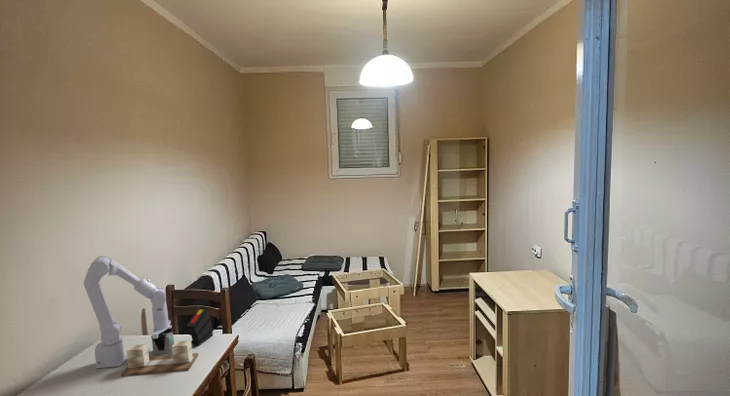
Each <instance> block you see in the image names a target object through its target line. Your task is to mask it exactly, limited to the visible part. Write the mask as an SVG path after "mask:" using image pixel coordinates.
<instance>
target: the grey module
mask: <svg viewBox="0 0 730 396" xmlns="http://www.w3.org/2000/svg"><path fill="white" fill-rule="evenodd" d="M163 334H167V335H166V337H165V347H164V350H161V351H159V350H158V348H157V346H156V344H155V342H154V341H153V340H152V339H151V343H152V344H151V345H152V353H153V355H159V354H170V353H171V354H172V346H173V344H174V343H175V342H174V341H175V340H174V339H175V338H174V332H172V331H171V333H162V335H163Z"/></svg>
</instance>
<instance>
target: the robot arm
mask: <svg viewBox="0 0 730 396" xmlns="http://www.w3.org/2000/svg"><path fill="white" fill-rule="evenodd" d="M105 275H106V276H107V275H108V276H118V277H119V278H121V279H123V280H124V281H126V282H128V283H129V284H131V285H133V289H134V291H136V292H137V293H138V294H140V295H142V296H143V297H145V298H146V299H149V300H150V303H151V305H152V307H151V310H152V311H151V312H152V321H153V330H152V334H151V336H150V338H151V341H152V340H153V341H154V342H155V344H156V346H157V348H158V350H159V351H161V350H164V347H165V337H166V335H167V334H163V335H162V333H172V330H173V326H172V325H171V319H170V320H169V313H168V306H167V305H168V304H167V296H166V295H167V294H166V291H165V290H164V289H163V288H162V287H160V286H159V285H156V284H154V283H152V282H151V279H149V278H147V279H146V278H145V277H143V278H139V277H138V276H136V275H135V273H134V274H133V273H132V271H130V270H128V269H127V268H126V267H124V266H123V265H121V264H120V263H119V262H117V261H116V260H114V259H111V258H110V257H108V256H106V255H100V256H98V257H96V258H95V259H94V260H93V261H92V263H91V264H90V265H89V268H88V269H87V272H86V275H85V277H84V280H83V286H84V289H85V291H86V293H87V296H88V298H89V299H88V300H89V302H90V304H91V306H92V309H93V310H94V311H93V312H94V313H95V316H96V320H97V322H98V325H99V332H100V334H101V336H100V342H99V343H97V344H96V345H95V349H94V359H95V369H104V368H113V367H120V366H121V365H122V364H123V363H125V361H126V360H128V358H127V355H125V354H124V353H125V352H124V343H123V337H122V336H120V332H121V325H120V324H119V323H117V321H116V320H115V318H114V316H113V315H112V312H111V310H110V308H109V304H108V302H107V299H106V297H105V295H104V292H103V290H102V287H101V285H100V281H101V279H102V278H103V277H104V276H105Z"/></svg>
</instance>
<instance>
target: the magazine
mask: <svg viewBox="0 0 730 396" xmlns="http://www.w3.org/2000/svg"><path fill="white" fill-rule="evenodd" d="M208 311H209V309H208V308H206V307H205V306H199V307H198V308H197V310H196V312H195V313H194V314H193V316H192V317H191V319H190V320H189V321H188V323H187V324H186V329H187V330H188V331H189V336H190V337H191V344H192V347H199V346H201V345H202V344H204V343H205V342H206V341H208V340H209V339H210V338H212V337H213V336H214V335H213V334H214V333H213V332H214V331H215V330H214V327H213V326H212V321H211V320H212V317H211V316H210V314H209V312H208Z"/></svg>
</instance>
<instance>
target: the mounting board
mask: <svg viewBox="0 0 730 396" xmlns="http://www.w3.org/2000/svg"><path fill="white" fill-rule="evenodd" d="M191 341H192V339H189V340H179V341H175V342H174V344H173V346H172V351H171V354H172V355H171V354H170V355H161V356H158V355H157V356H150V354H149V345H148V343H144V344H134V345H133V344H131V346H130V347H129V348H127V349H126V356H127V365H128V366H127V367H126V368H125V369H124V370H123V371H122V373H120V374H121V377H126V376H127V377H128V376H129V377H130V376H139V375H149V374H151V375H152V374H160V373H161V374H162V373H163V374H164V373H171V372H182V371H189V370H190V369H191V367H192V365H193V364H194V362H195V361H196V359H197V358H198V357H199V353H198V352H194V353H193V349H192V348H193V344H192V343H191Z"/></svg>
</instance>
